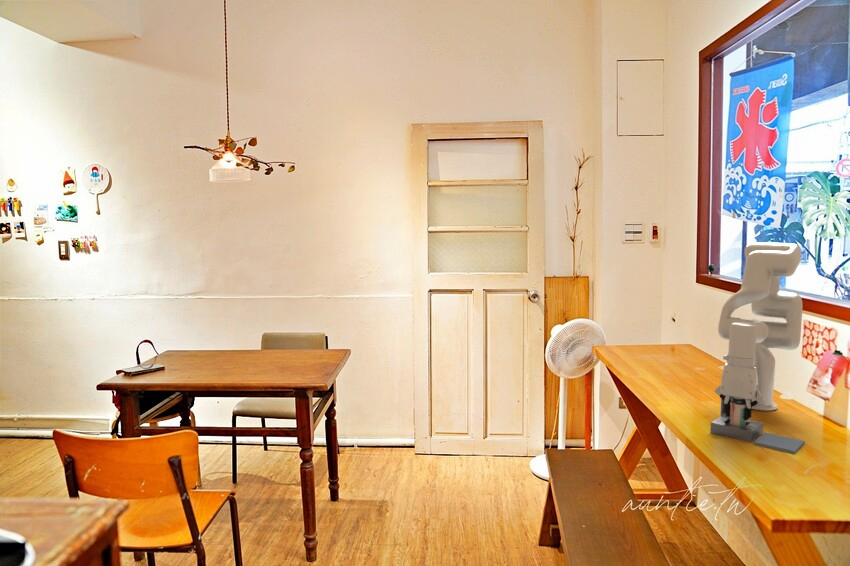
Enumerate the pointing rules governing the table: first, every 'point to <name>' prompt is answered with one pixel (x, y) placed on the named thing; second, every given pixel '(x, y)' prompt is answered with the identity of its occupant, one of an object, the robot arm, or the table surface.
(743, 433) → the gray square frame
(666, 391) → the table surface
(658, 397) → the table surface
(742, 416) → the beer can
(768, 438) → the mat
